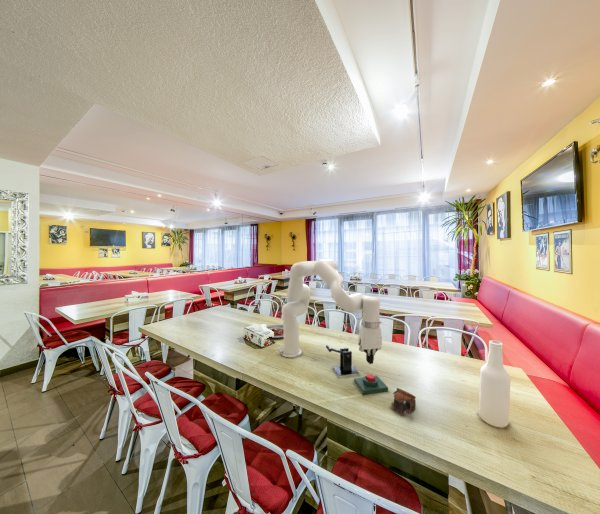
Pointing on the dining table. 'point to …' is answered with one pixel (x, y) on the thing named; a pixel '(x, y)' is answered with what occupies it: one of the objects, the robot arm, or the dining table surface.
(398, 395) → the miniature brown house
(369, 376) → the red push button
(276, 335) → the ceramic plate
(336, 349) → the switch lever
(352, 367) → the switch bracket
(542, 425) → the dining table surface
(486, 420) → the alcohol
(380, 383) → the button block
